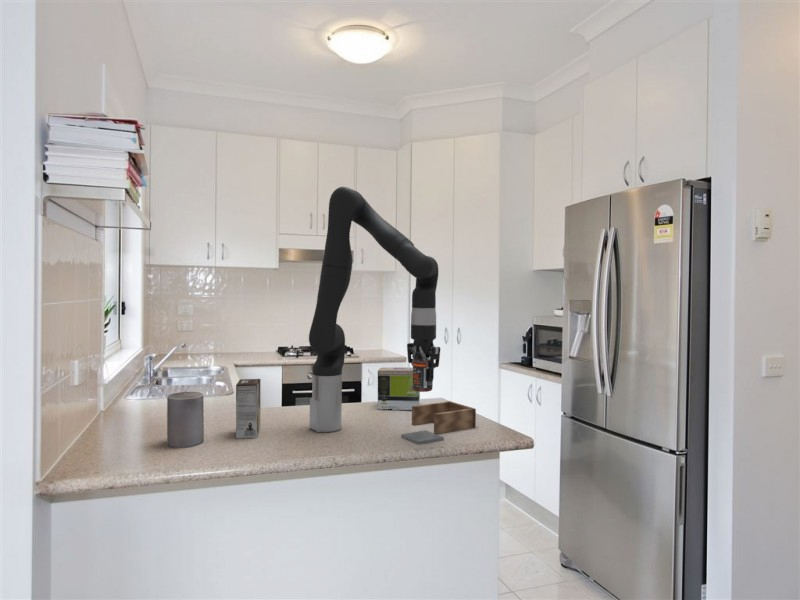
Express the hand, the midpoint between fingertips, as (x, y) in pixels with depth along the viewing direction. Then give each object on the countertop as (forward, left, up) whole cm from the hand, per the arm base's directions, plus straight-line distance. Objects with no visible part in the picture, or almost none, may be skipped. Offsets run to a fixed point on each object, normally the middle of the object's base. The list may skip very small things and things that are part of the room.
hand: (422, 379), depth 161 cm
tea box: (+17, +38, -18) cm, 45 cm away
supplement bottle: (0, 0, -3) cm, 3 cm away
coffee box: (-42, +30, -18) cm, 55 cm away
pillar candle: (-60, +30, -18) cm, 70 cm away
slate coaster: (0, 0, -17) cm, 17 cm away
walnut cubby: (+14, +8, -17) cm, 24 cm away
